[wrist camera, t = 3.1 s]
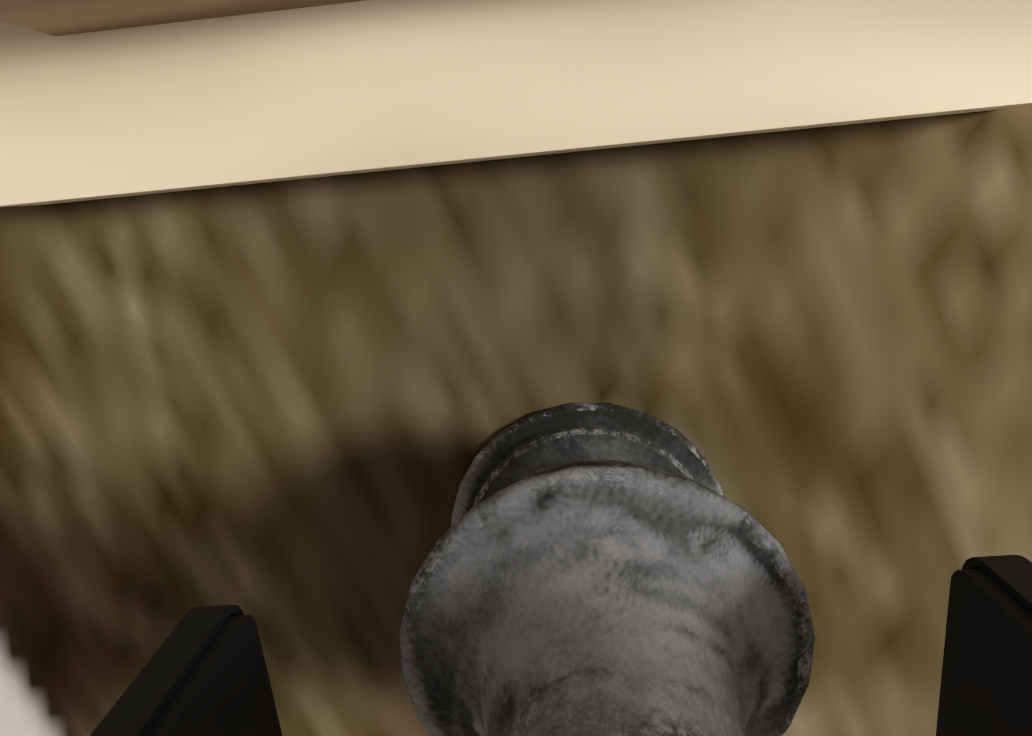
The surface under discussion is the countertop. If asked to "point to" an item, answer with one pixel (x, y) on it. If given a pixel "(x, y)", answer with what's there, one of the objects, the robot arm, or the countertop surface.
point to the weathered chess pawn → (603, 593)
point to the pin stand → (459, 81)
